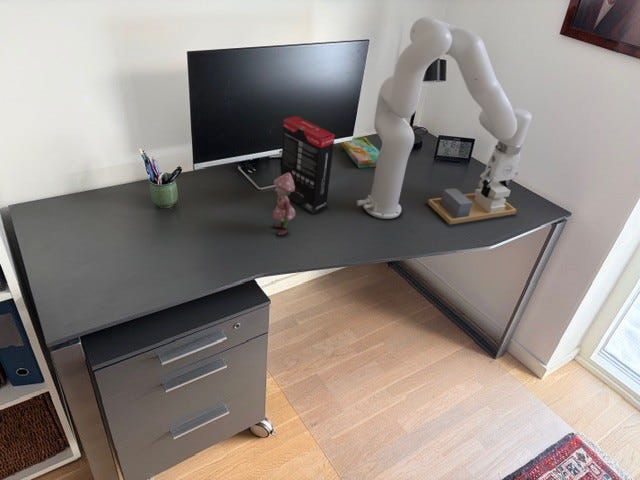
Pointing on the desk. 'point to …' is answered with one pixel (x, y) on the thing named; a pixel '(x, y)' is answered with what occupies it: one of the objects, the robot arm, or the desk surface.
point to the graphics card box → (307, 162)
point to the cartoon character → (284, 201)
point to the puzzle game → (361, 152)
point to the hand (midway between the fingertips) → (492, 194)
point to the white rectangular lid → (497, 189)
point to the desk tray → (475, 213)
